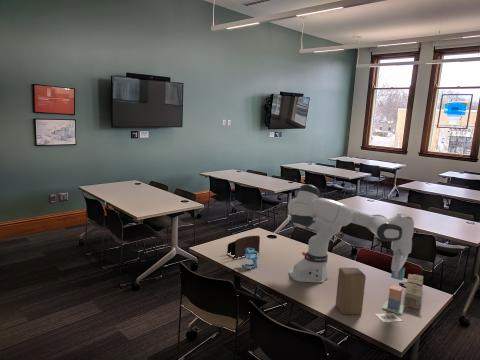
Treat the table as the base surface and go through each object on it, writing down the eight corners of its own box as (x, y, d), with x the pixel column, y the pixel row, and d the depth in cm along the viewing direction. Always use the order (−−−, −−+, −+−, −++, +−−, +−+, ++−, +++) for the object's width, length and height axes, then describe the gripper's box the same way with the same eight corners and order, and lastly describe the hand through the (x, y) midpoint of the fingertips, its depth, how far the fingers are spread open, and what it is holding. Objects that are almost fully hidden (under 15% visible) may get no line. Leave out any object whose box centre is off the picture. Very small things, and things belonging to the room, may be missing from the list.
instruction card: (383, 322, 166) (383, 321, 166) (374, 314, 173) (374, 313, 173) (402, 321, 168) (402, 320, 168) (393, 313, 175) (393, 312, 175)
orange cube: (399, 300, 175) (400, 291, 174) (388, 297, 178) (389, 288, 177) (401, 297, 179) (402, 287, 179) (390, 294, 182) (392, 284, 181)
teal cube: (401, 280, 173) (403, 270, 173) (391, 277, 176) (392, 267, 175) (404, 277, 178) (405, 267, 177) (393, 274, 180) (394, 264, 180)
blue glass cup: (259, 268, 220) (260, 250, 218) (246, 270, 217) (247, 251, 215) (254, 264, 227) (255, 245, 226) (242, 265, 224) (243, 246, 223)
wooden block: (334, 304, 181) (338, 266, 177) (354, 304, 181) (358, 267, 178) (342, 315, 171) (346, 275, 168) (362, 315, 172) (366, 275, 168)
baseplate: (401, 315, 173) (403, 303, 173) (382, 308, 178) (383, 298, 178) (405, 307, 181) (406, 296, 180) (386, 302, 186) (387, 291, 185)
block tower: (406, 286, 208) (402, 306, 182) (408, 272, 206) (404, 290, 181) (421, 290, 204) (420, 311, 178) (423, 276, 203) (422, 295, 177)
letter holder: (259, 254, 244) (260, 234, 242) (235, 259, 233) (236, 239, 231) (250, 250, 252) (251, 230, 250) (226, 254, 241) (227, 234, 239)
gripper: (404, 254, 164) (400, 283, 166) (411, 243, 181) (408, 269, 183) (389, 251, 168) (386, 279, 170) (398, 240, 184) (395, 266, 187)
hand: (397, 274), depth 177 cm, fingers closed on teal cube, 5 cm apart
